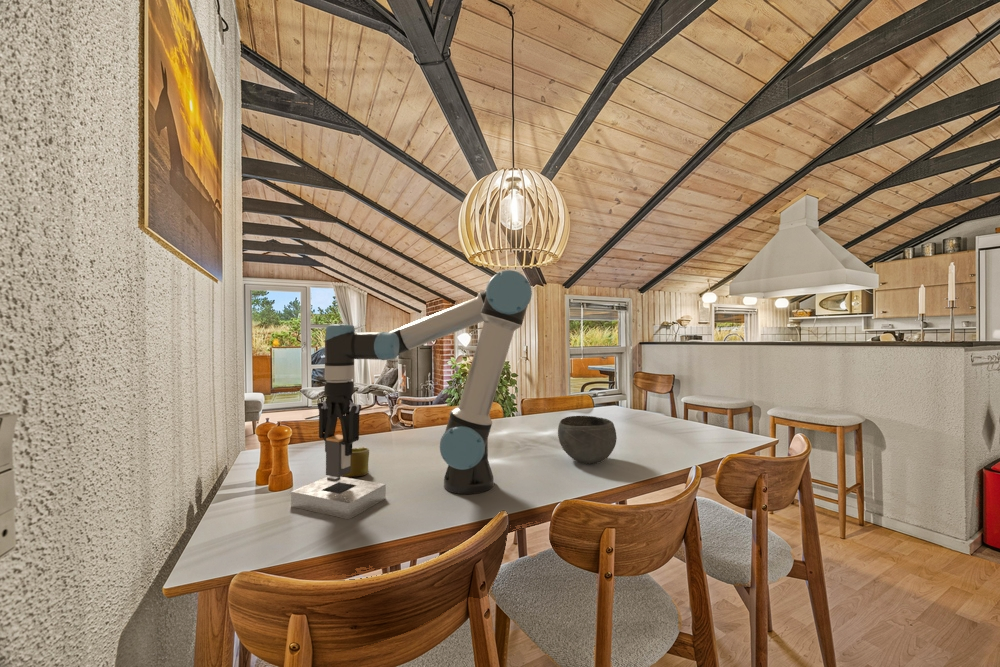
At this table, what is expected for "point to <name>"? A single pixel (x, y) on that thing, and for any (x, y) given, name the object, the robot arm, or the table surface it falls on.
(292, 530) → the table surface
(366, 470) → the mug
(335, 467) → the plug
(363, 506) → the socket plate
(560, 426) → the bowl
